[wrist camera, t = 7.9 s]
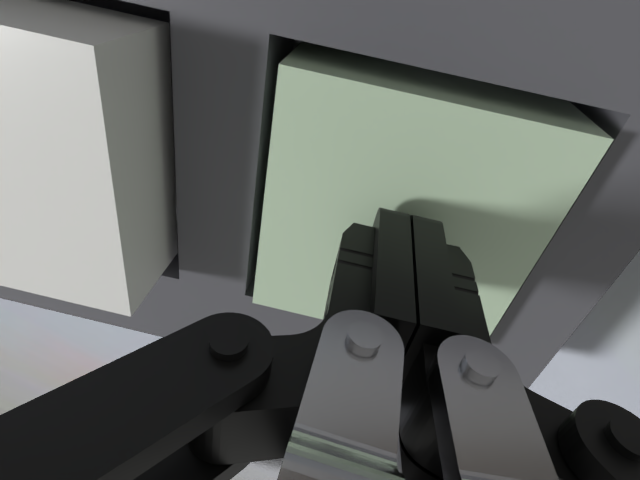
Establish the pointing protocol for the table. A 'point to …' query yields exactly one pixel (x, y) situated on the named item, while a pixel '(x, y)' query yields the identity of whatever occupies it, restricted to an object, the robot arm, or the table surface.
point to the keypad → (407, 48)
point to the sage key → (413, 170)
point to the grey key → (85, 153)
